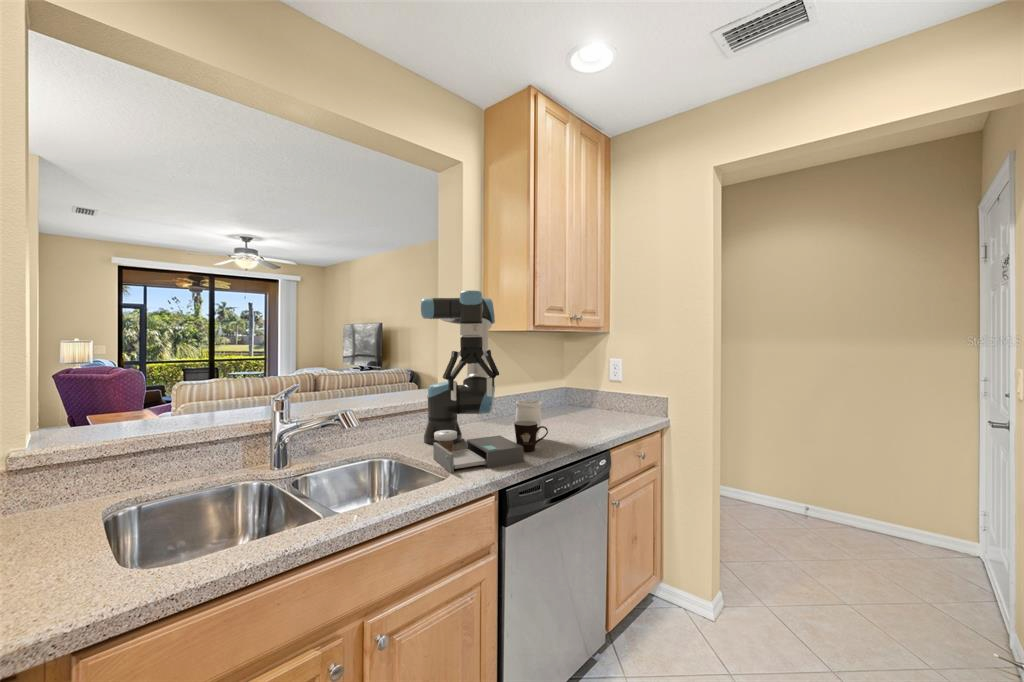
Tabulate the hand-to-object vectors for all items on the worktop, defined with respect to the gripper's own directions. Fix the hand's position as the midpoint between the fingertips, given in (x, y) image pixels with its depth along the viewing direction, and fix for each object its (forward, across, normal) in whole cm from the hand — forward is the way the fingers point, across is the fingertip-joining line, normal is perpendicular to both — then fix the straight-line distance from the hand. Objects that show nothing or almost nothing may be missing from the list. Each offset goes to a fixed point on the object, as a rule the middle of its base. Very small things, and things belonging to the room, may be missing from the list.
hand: (472, 398), depth 154 cm
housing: (+21, +6, -4) cm, 22 cm away
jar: (+22, +31, +12) cm, 40 cm away
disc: (+15, -6, +8) cm, 18 cm away
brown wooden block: (+21, -6, +8) cm, 23 cm away
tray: (+20, -7, -3) cm, 22 cm away
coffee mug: (+21, +22, -2) cm, 31 cm away
